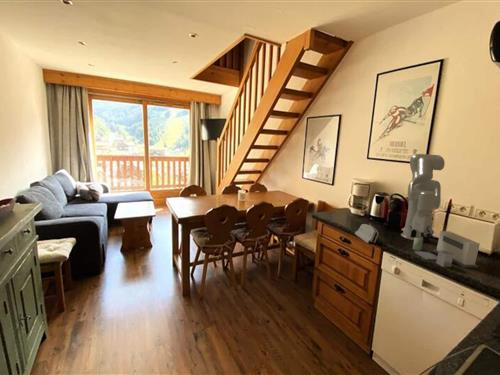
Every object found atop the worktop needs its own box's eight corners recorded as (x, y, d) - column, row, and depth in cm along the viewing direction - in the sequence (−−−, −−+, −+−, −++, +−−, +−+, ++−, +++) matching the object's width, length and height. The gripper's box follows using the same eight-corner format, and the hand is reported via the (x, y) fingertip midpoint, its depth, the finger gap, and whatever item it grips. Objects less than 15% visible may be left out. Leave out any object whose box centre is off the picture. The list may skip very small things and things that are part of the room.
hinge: (354, 233, 172) (360, 220, 171) (360, 235, 173) (366, 223, 172) (367, 243, 156) (374, 229, 155) (374, 245, 157) (381, 231, 155)
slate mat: (414, 252, 145) (414, 251, 145) (428, 252, 146) (429, 251, 146) (426, 259, 137) (426, 258, 136) (441, 260, 137) (441, 258, 137)
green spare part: (410, 247, 152) (412, 237, 151) (417, 248, 153) (419, 237, 151) (416, 251, 148) (418, 240, 147) (423, 251, 148) (425, 240, 147)
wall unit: (433, 251, 149) (437, 230, 147) (445, 251, 150) (449, 230, 147) (464, 267, 129) (469, 244, 127) (477, 267, 130) (483, 244, 128)
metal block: (436, 262, 134) (438, 250, 132) (443, 262, 134) (446, 250, 133) (443, 266, 129) (445, 254, 128) (450, 267, 130) (453, 254, 128)
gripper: (407, 208, 154) (403, 235, 156) (429, 216, 137) (424, 245, 139) (418, 209, 155) (414, 235, 157) (442, 216, 138) (436, 245, 140)
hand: (419, 240), depth 148 cm, fingers open, 9 cm apart
